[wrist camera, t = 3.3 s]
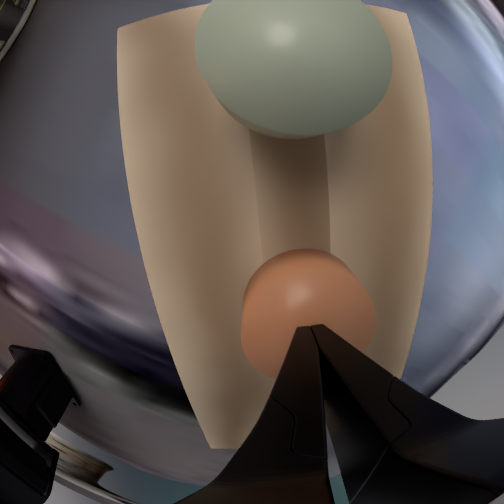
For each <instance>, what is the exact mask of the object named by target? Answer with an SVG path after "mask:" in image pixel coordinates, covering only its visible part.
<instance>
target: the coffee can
mask: <svg viewBox="0 0 504 504" xmlns="http://www.w3.org/2000/svg"><path fill="white" fill-rule="evenodd" d="M35 2H36V0H0V61H1V59H2V58H3V57H4V55H5V54H6V53H7V51H8V50H9V48H10V47H11V46H12V44H13V42H14V40H15V39H16V37H17V36H18V34H19V33H20V31H21V29H22V28H23V26H24V24H25V23H26V21H27V19H28V17H29V15H30V13H31V11H32V9H33V7H34V5H35Z"/></svg>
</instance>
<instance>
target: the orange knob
mask: <svg viewBox="0 0 504 504" xmlns="http://www.w3.org/2000/svg"><path fill="white" fill-rule="evenodd" d="M316 324H324V325H325V326H327V327H328V328H329V329H331V330H332V331H334V332H335V333H336V334H338V335H339V336H340V337H342V338H343V339H344V340H346V341H347V342H349V343H350V344H351V345H353V346H354V347H355V348H357V349H358V350H360V351H361V352H362V353H363V352H364V351H365V350H366V348H367V347H368V345H369V343H370V341H371V339H372V336H373V334H374V330H375V326H376V312H375V307H374V304H373V302H372V299H371V297H370V296H369V294H368V293H367V291H366V290H365V289H364V287H363V286H362V285H361V283H360V282H359V281H358V279H357V278H356V277H355V276H354V274H353V273H352V272H351V270H350V269H349V268H348V266H347V265H346V264H345V263H344V262H343V261H342V260H340V259H339V258H338V257H336V256H334V255H332V254H331V253H328V252H325V251H322V250H318V249H310V248H304V249H294V250H290V251H286V252H283V253H281V254H278V255H276V256H274V257H272V258H271V259H269V260H268V261H266V262H265V263H264V264H262V265H261V266H260V267H259V268H258V269H257V270H256V271H255V273H254V274H253V275H252V277H251V278H250V280H249V282H248V284H247V286H246V289H245V292H244V296H243V308H242V322H241V344H242V348H243V351H244V353H245V356H246V357H247V359H248V360H249V362H250V363H251V364H252V365H253V366H254V367H255V368H256V369H257V370H259V371H260V372H261V373H263V374H265V375H266V376H269V377H271V378H273V379H276V378H277V376H278V373H279V371H280V369H281V366H282V364H283V361H284V359H285V356H286V353H287V351H288V348H289V346H290V343H291V340H292V338H293V335H294V332H295V330H296V328H297V327H300V326H311V325H316Z"/></svg>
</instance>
